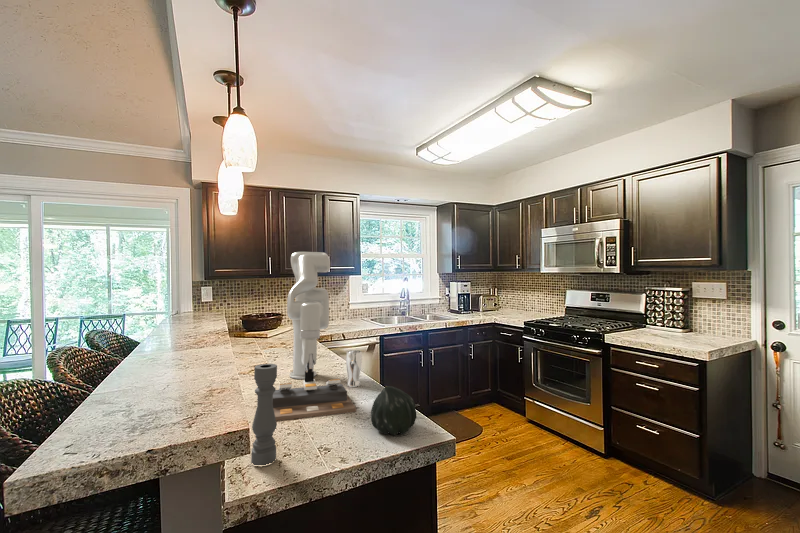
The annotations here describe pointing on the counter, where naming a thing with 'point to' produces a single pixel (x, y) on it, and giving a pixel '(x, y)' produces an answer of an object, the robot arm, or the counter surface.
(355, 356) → the beige tall curved piece
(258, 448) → the candle holder
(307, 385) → the block
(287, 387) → the plate
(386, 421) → the squash
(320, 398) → the switch unit
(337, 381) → the block
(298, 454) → the counter surface
